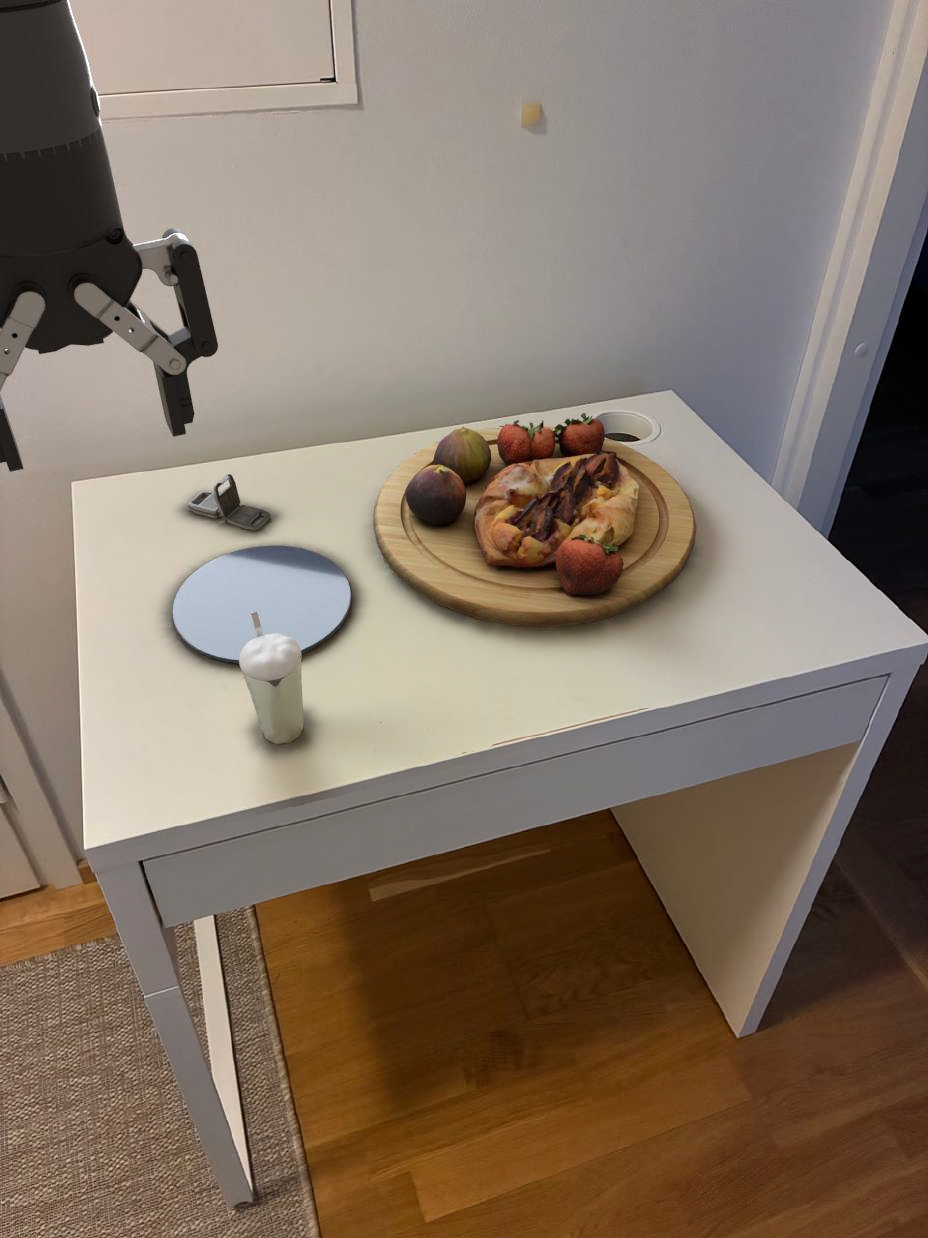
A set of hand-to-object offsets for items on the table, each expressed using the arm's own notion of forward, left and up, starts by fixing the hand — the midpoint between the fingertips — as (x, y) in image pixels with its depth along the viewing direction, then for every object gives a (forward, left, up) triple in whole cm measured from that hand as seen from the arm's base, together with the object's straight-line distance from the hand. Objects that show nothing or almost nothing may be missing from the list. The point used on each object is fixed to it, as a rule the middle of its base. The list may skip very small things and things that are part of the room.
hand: (97, 446), depth 52 cm
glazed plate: (+11, +18, -30) cm, 36 cm away
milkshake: (+8, +3, -30) cm, 31 cm away
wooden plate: (+39, +18, -30) cm, 52 cm away
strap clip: (+12, +33, -30) cm, 46 cm away
